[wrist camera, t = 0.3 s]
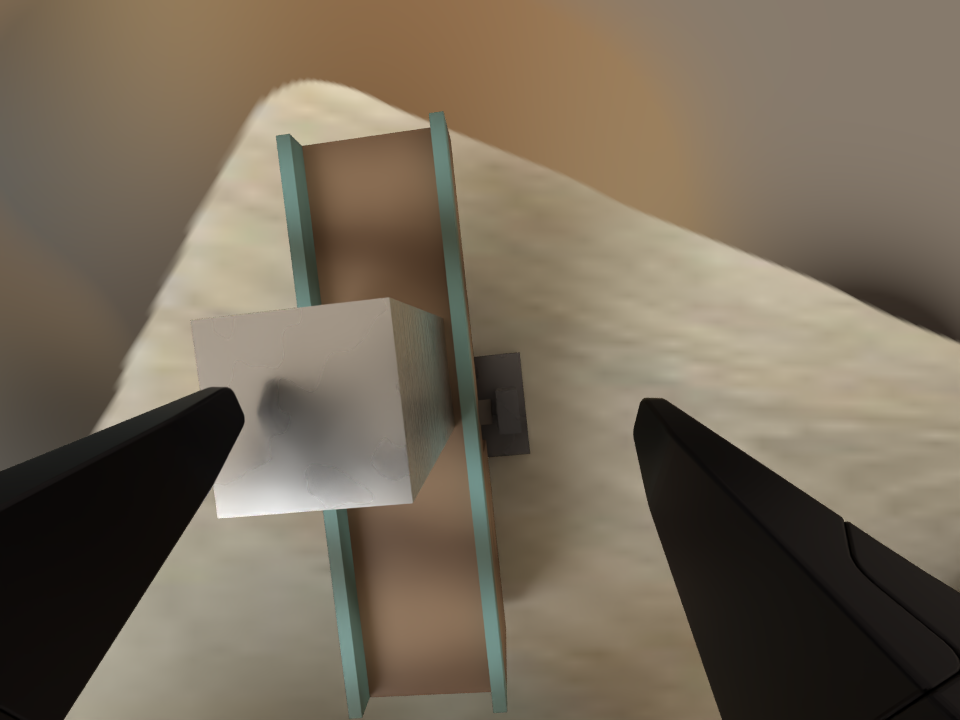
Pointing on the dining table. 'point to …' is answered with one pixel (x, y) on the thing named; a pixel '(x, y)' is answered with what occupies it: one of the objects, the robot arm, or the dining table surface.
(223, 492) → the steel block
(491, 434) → the beam stand
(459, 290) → the balance beam
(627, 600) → the dining table surface
